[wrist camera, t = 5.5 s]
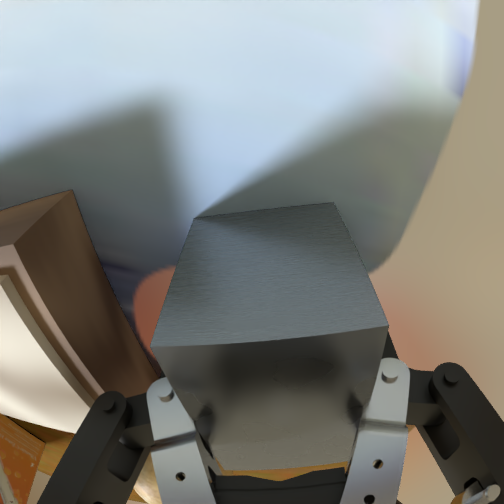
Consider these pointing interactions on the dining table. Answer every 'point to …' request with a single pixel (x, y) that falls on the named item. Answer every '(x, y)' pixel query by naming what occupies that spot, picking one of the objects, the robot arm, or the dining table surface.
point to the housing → (272, 336)
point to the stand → (60, 319)
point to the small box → (17, 461)
